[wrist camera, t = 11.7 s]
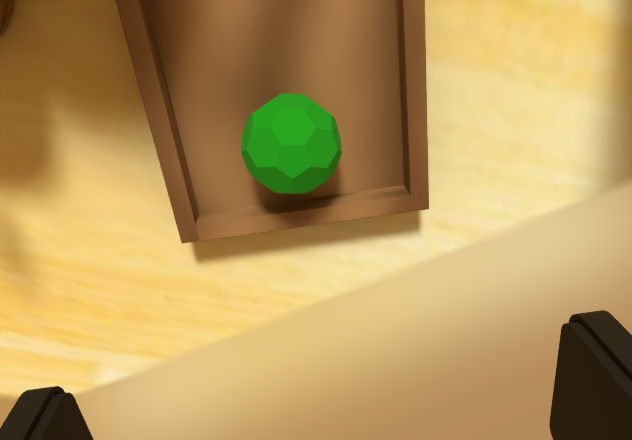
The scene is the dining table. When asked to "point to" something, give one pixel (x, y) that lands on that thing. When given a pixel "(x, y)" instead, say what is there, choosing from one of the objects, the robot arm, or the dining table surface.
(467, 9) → the dining table surface
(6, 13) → the utensil holder
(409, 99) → the tray
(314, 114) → the polyhedron
